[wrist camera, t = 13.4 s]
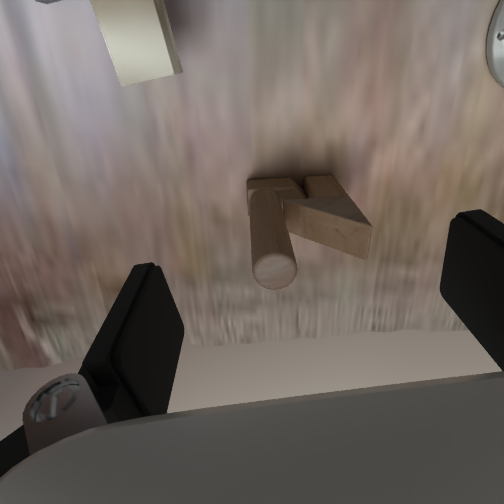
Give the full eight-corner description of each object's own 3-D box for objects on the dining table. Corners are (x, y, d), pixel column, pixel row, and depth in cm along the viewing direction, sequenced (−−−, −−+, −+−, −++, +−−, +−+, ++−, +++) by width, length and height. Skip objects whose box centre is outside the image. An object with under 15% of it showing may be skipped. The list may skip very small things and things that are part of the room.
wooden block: (331, 201, 41) (383, 286, 26) (248, 205, 41) (251, 293, 26) (333, 173, 39) (391, 247, 24) (246, 178, 40) (249, 255, 24)
